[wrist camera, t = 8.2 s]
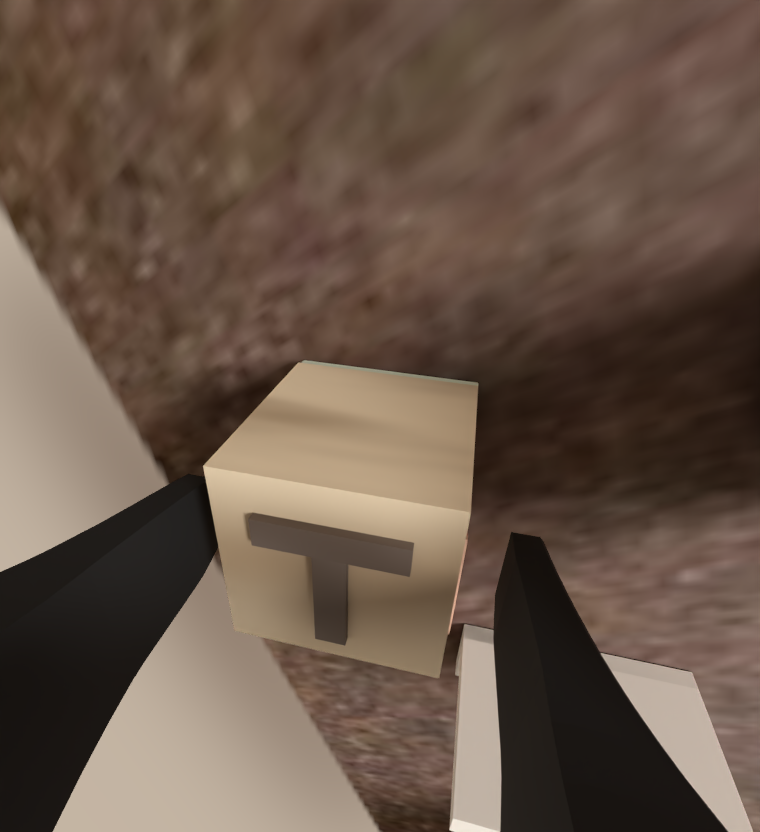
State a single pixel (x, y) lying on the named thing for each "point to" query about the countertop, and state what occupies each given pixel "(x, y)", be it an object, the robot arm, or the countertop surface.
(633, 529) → the countertop surface
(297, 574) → the letter cube
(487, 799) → the screen
